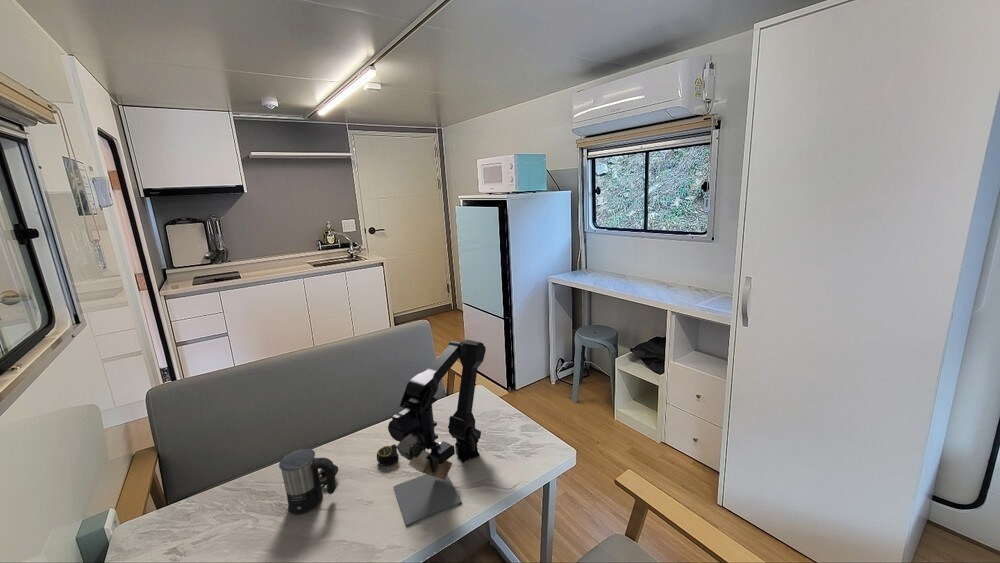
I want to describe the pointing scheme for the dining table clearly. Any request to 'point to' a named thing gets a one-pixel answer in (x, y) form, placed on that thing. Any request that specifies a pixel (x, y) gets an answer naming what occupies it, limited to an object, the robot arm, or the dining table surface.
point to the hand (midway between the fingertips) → (428, 468)
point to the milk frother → (306, 479)
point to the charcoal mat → (425, 497)
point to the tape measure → (387, 455)
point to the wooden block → (425, 466)
